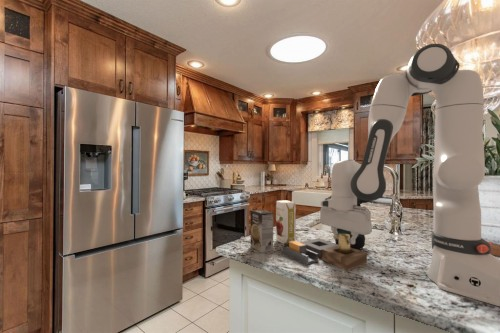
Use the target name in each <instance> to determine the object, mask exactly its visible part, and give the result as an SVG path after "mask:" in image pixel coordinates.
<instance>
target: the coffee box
mask: <svg viewBox="0 0 500 333" xmlns="http://www.w3.org/2000/svg"><path fill="white" fill-rule="evenodd" d="M250 247H251V248H252V249H255V250H256V251H258V252H260V253H261V254H262V253H267V252H271V251H274V212H272V211H268V210H266V209H263V208H262V209H251V210H250Z"/></svg>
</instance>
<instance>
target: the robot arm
mask: <svg viewBox="0 0 500 333" xmlns="http://www.w3.org/2000/svg"><path fill="white" fill-rule="evenodd" d="M460 66H461V65H460V63H459V61H458V60H457V59H456V57H455V55H454V54H453V51H451V49H450V48H449V47H448V46H446V45H444V44H443V43H430V44H427V45H425V46H423V47H421V48H420V49H418V50H416V52H414V54H413V55H412V56H411V58H410V59H409V62H408V65H407V68H406V70H405V71H403V72H402V73H399V74H388V75H386V76H383V78H381V79H380V80H379V82H378V84H377V86H376V88H375V90H374V94H373V96H372V99H371V103H370V106H369V111H368V119H367V120H368V121H367V122H368V123H367V130H368V132H367V136H368V137H367V142H366V145H365V146H366V147H365V151H364V154H363V158H362V162H361V163H359V162H357V161H356V160H354V159H345V160H340V161H337V162H335V163H334V164H333V165H332V169H331V175H330V176H331V177H330V181H331V182H330V183H331V187H332V188H331V195H330V196H331V199H327V200H325V199H324V200H323V199H322V200H321V201H320V206H321V208H320V212H319V213H320V214H319V219H320V223H321V225H325V226H328V227H330V230H331V232H332V234H333V239H334V240H335V239H337V240H338V232H337V229H338V228H339V229H343V230H347V231H351V235H352V237H351V238H349V243H350V244H355V239H356V238H357V236H358V234H362V235H365V236H368V235H370V234H371V233H372V232H373V226H372V216H371V211H370V210H369V209H368V208H367V207H366V206H361V207H360V206H357V197H358V198H359V199H361V200H364V201H369V202H375V201H377V200H379V199H381V198H380V197H381V196H382V195H384V193H385V192H386V188H387V179H386V177H385V175H384V170H385V169H384V168H385V164H386V160H387V156H388V151H389V148H390V144H391V142H392V140H393V138H394V137H395V135H397V133H398V132H399V131H400V129H401V127H402V125H403V123H404V121H405V118H406V114H407V110H408V107H409V106H408V105H409V103H410V99H411V97H414V96H421V95H426V94H429V93H433V94H434V97H435V116H434V117H435V119H434V154H433V155H434V156H433V158H434V159H433V160H434V161H433V168H432V191H433V192H432V194H433V196H432V198H433V199H432V200H433V204H432V205H433V231H432V233H431V249H432V256H431V261H430V266H429V269H428V271H427V274H426V276H427V277H428V278H429V280H430V281H432V282H433V283H435V284H436V286H437V287H438V288H439V289H440V290H443V291H447V292H450V293H453V294H457V295H459V296H462V297H463V296H464V297H466V298H470V299H474V300H476V301H479V302H484V303H487V304H491V305H494V306H497V307H500V259H498V258H497V257H495V256H494V255H493V254H491V252H492V246H493V244H492V241H491V242H487V240H485V239H484V238H482V209H481V204H480V193H479V185H480V184H481V183H483V180H484V178H485V177H486V176H485V173H486V172H485V171H486V164H485V163H486V162H485V160H486V159H485V145H484V134H483V129H484V107H485V106H484V105H485V104H484V100H485V99H484V98H485V97H484V88H483V84H482V79H481V76H480V74H479V73H478V72H477V71H475V70H471V69H460V70H459V68H460ZM382 197H383V196H382Z"/></svg>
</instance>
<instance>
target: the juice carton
mask: <svg viewBox="0 0 500 333" xmlns="http://www.w3.org/2000/svg"><path fill="white" fill-rule="evenodd" d="M296 209H297V208H296V201H290V200H288V199H287V200H283V199H282V200H276V204H275V220H276V221H275V222H276V223H275V225H276V228H275V232H276V233H275V236H276V237H275V238H276V241H277V242H279V243H281V244H282V245H284V243H286V242H290V241H297V240H296V236H297V235H296V234H297V233H296V231H297V230H296V229H297V228H296V226H297V224H296V223H297V222H296V220H297V219H296V212H297V211H296Z"/></svg>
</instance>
